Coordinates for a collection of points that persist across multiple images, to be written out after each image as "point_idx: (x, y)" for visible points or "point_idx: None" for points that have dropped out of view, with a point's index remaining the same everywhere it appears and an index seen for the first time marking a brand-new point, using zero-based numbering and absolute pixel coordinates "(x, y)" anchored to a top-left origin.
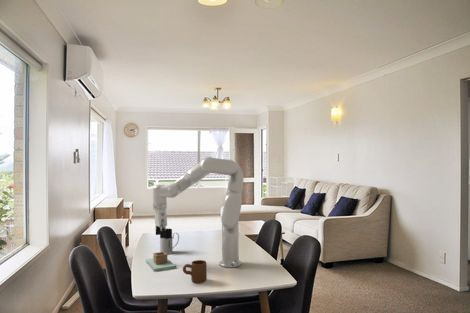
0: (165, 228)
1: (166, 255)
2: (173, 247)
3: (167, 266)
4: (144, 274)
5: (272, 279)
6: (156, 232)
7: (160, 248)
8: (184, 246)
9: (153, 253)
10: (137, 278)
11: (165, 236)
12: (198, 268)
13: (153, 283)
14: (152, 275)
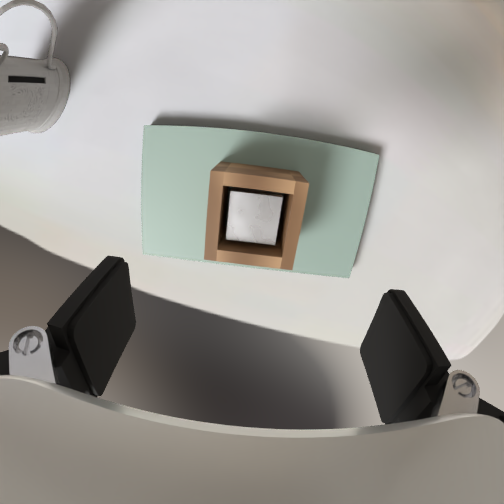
0: (476, 402)
1: (307, 188)
2: (52, 52)
3: (362, 202)
4: (347, 315)
5: None
6: (124, 346)
7: (20, 131)
8: None
9: (206, 258)
10: None
11: (404, 301)
12: None
13: (449, 313)
14: None
